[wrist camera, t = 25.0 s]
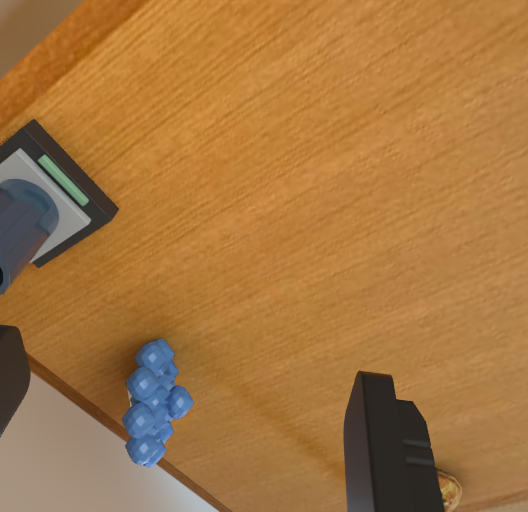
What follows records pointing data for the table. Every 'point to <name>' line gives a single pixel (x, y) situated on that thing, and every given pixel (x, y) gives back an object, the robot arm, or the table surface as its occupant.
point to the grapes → (153, 403)
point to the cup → (23, 226)
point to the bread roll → (449, 490)
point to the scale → (56, 187)
